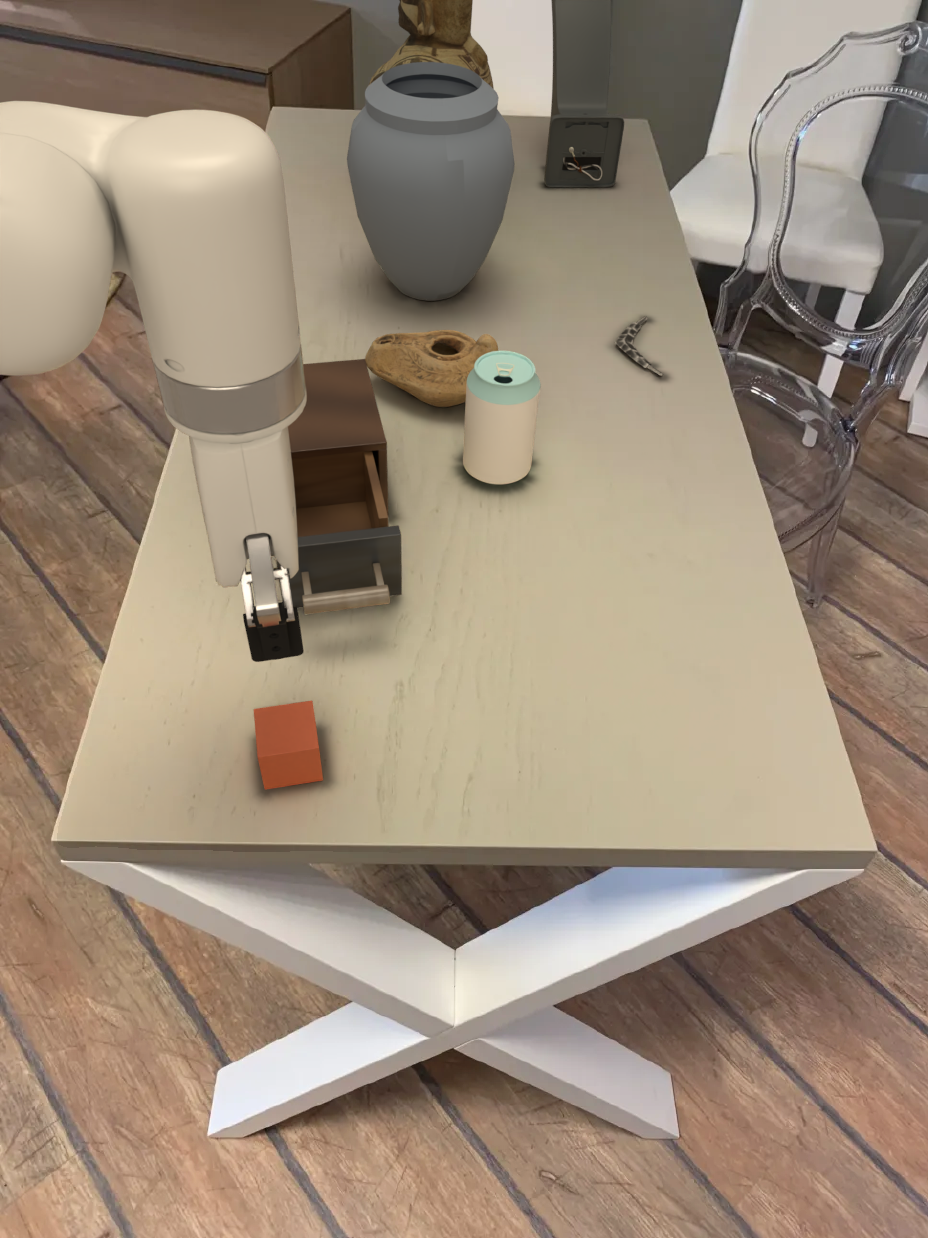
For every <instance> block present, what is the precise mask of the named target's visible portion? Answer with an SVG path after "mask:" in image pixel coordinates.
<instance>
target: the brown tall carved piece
mask: <svg viewBox="0 0 928 1238" xmlns="http://www.w3.org/2000/svg"><path fill="white" fill-rule="evenodd" d="M398 1H399V3H398V6H397V13H398V20H397V21H398V25H399V27H400V28H401V29H403V30H404V31H406V32H407V33H408V34H409V35H408V37H407V38H406V39H405V41H404V42H403V43H402V45H400V46H399V48H398V49H396V51H395V53H394V54H393V56H392V57H391V58H390V59H389V60H388V61H386V62H384V63H383V64H382V65H381V66H380V67H379V68H378V69H376V71H375V72H374V73H373V75H372V76H371V79H370V81H369V83H368V86H369V85H370V84H371V83H372V82H374V81H375V80H376V79H378V78H379V77H380V76H382V75H383V74H384V73H385V72H386V71H387V70H389V69H391V68H393V67H396V66H399V65H403V64H408V63H417V62H438V63H447V64H453V65H457V66H461V67H464V68H467V69H469V70H471V71H473V72H475V73H476V74H478V75H479V76H480V77H481V78H482V79H483V80H484V81H485V82H486V83H487V84H489V85H490V86H491V87H492V88H493V89H494V82H493V77H492V73H491V68H490V64H489V62H488V61H489V59H488V54H487V52H486V51H485V50H484V48H483V47H482V46H481V44H479V43H478V42H477V40H476V39H475V38H474V36H472V16H473V0H398ZM494 90H495V89H494Z"/></svg>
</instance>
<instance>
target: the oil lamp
mask: <svg viewBox="0 0 928 1238" xmlns="http://www.w3.org/2000/svg"><path fill="white" fill-rule="evenodd" d="M493 351H499V346H498V343H497V340H496V338H494V337H493V336H492V335H490V334H489V333H483V334H481V336H480V337H479V338H478V339H477V340H476V339H474V338H472V337H471V336H469V335H468V334H467V333H464V332H461V331H458V330H453V329H437V330H429V331H423V332H398V333H386V334H383V335H380V336H378V337H376V338H375V339H374V340H373V342H372V343H371V345H370V347H369V348H368V351H367V352H366V354H365V358H364V359H365V361H366V365H367V369H368V371H370V372H371V373H372V374H374V375H375V376H377V377H378V378H380V379H382V380H384V381H386V382H387V383H389V384H391V385H393V386H396V387H398V388H399V389H401V390H403V391H404V392H407V393H409V394H410V395H412V396H413V397H415V398H416V399H418V400H419V401H421V402H423V403H425V404H428V405H430V406H434V407H439V408H448V407H453V406H454V407H455V406H458V405H460V404H464V403H466V385H467V377H468V375H469V373H470V372H471V370H472V369H473V368H474V364H475V362H476V360H477V359H478V358H479V357H481V356H482V355H484V354H486V353H489V352H493Z"/></svg>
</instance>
